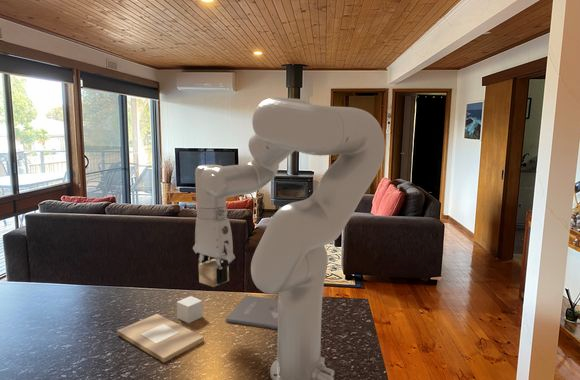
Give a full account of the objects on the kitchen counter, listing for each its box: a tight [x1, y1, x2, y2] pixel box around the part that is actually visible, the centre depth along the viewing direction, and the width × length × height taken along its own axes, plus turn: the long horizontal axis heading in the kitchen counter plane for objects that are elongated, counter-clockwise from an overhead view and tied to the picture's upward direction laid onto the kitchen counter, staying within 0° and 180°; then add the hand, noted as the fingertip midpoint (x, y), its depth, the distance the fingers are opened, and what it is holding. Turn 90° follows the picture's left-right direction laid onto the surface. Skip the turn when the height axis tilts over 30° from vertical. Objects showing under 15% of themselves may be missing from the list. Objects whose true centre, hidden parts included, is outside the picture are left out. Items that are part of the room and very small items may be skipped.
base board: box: [116, 313, 205, 364], centre depth 104 cm, size 20×12×1 cm, turn 53°
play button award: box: [225, 294, 278, 330], centre depth 118 cm, size 16×2×20 cm
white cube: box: [176, 295, 203, 324], centre depth 115 cm, size 5×5×5 cm
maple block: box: [198, 258, 230, 288], centre depth 107 cm, size 6×6×5 cm
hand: (214, 279), depth 107 cm, fingers closed on maple block, 5 cm apart
